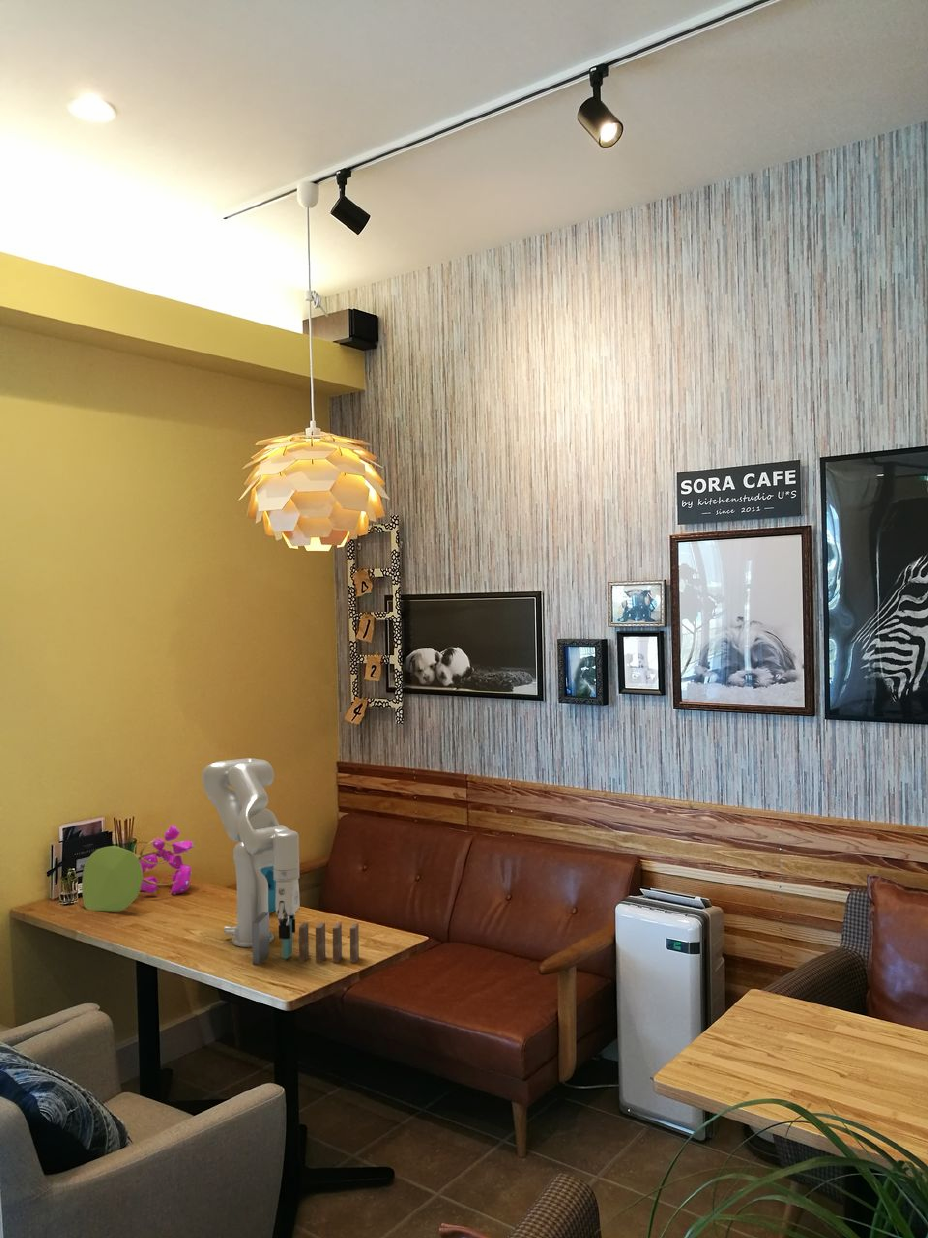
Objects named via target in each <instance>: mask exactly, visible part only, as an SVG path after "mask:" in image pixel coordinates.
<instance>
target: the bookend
mask: <svg viewBox="0 0 928 1238" xmlns="http://www.w3.org/2000/svg"><path fill="white" fill-rule="evenodd" d="M252 932H253V947H252V965H260V964H261V963H262V962H263V961H264V960H265V959H266V957H267V956H268V955H269V954H270V951H271V950H270V949H271V948H270V943H269V932H270V913H269V912H262V913H261V914H260V915H259V916H258V917H257V918H256V919H255V921H254V922H253V923H252Z"/></svg>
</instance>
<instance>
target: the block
mask: <svg viewBox="0 0 928 1238" xmlns="http://www.w3.org/2000/svg"><path fill="white" fill-rule="evenodd" d="M260 871H261V873H262V874H263V875H264V876H265V878H266V880H267V883H268V912H269V914H271V913H273V912H274V913H275V912H276V907H275V899H276V881H275V880H273V866H270V867H265V868H262V869H260Z"/></svg>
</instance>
